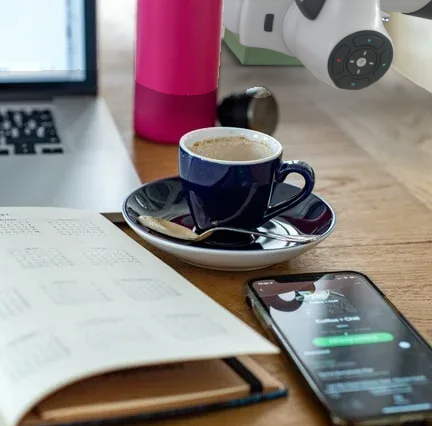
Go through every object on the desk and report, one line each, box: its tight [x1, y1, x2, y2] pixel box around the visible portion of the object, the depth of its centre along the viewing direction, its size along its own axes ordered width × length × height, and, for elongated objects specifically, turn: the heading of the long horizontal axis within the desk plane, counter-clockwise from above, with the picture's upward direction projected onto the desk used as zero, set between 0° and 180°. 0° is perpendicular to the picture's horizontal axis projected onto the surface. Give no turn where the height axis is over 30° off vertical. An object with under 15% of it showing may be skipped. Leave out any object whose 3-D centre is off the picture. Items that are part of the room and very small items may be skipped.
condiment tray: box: [223, 26, 304, 66], centre depth 121 cm, size 11×11×3 cm
